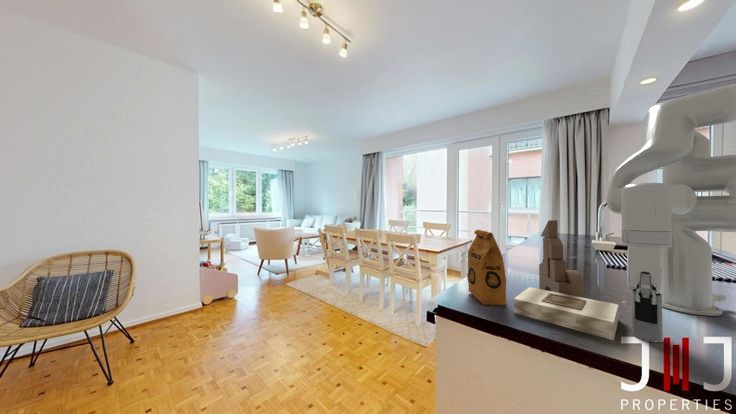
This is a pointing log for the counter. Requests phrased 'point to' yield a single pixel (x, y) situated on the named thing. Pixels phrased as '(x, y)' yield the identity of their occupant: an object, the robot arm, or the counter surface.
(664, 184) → the robot arm
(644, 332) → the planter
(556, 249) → the wooden toy
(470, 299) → the counter surface
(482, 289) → the coffee package
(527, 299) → the rectangular box
